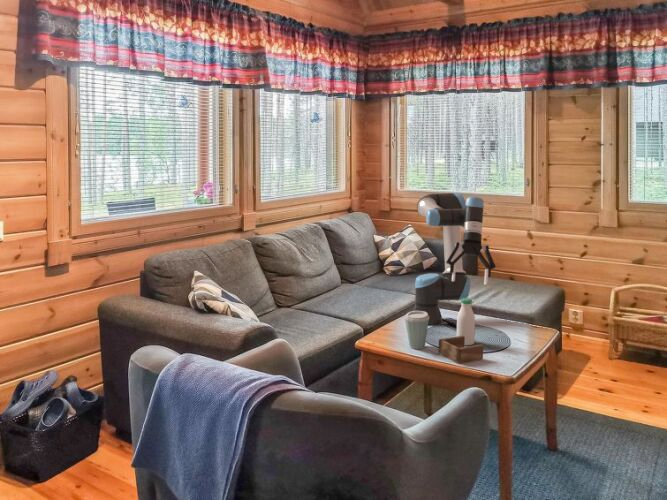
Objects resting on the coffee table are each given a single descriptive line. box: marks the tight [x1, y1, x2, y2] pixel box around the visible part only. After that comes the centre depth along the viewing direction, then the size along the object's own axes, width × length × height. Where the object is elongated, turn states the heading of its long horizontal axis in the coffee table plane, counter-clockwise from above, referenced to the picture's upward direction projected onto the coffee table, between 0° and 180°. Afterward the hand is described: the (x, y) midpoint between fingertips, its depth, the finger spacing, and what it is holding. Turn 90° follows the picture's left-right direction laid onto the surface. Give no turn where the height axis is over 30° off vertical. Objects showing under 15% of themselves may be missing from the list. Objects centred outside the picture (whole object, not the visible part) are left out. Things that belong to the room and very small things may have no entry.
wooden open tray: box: [438, 335, 484, 365], centre depth 247 cm, size 14×12×6 cm
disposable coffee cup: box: [404, 310, 429, 350], centre depth 258 cm, size 11×11×15 cm
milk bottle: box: [456, 297, 476, 346], centre depth 262 cm, size 8×8×20 cm
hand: (469, 282), depth 248 cm, fingers open, 13 cm apart
